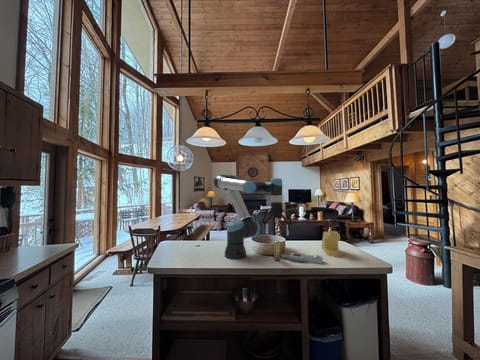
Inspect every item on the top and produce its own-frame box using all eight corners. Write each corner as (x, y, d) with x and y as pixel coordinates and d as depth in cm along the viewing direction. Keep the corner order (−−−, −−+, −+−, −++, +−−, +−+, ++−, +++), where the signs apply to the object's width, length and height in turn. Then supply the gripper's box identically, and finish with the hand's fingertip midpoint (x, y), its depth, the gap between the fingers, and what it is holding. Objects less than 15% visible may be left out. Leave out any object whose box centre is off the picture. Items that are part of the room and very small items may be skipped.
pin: (273, 260, 140) (273, 241, 140) (275, 259, 143) (274, 240, 144) (279, 261, 138) (279, 242, 139) (280, 259, 142) (280, 241, 142)
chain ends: (272, 258, 144) (272, 253, 144) (275, 255, 152) (275, 249, 152) (322, 264, 132) (322, 258, 132) (322, 260, 140) (322, 254, 140)
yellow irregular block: (342, 257, 147) (341, 233, 148) (327, 256, 149) (327, 233, 150) (334, 249, 167) (333, 228, 168) (321, 248, 169) (321, 228, 169)
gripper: (256, 201, 144) (257, 234, 143) (295, 202, 135) (295, 237, 133) (260, 201, 151) (260, 232, 150) (296, 201, 141) (297, 234, 140)
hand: (277, 234), depth 141 cm, fingers open, 13 cm apart
